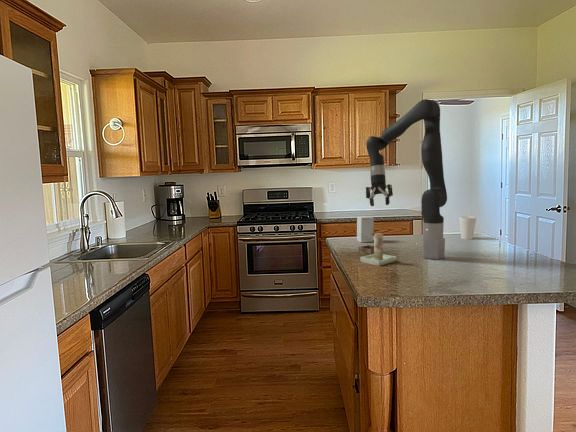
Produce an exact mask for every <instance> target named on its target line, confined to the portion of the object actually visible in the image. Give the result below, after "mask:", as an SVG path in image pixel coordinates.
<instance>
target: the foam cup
mask: <svg viewBox="0 0 576 432" xmlns="http://www.w3.org/2000/svg"><path fill="white" fill-rule="evenodd" d="M458 221H459V229H460V230H459V231H460V238H461V240H462V239H463V240H473V238H474V233H475V226H476V222H477V217H476V216H473V215H472V216H470V215H464V216H463V215H460V216H459V217H458Z"/></svg>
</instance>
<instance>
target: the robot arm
mask: <svg viewBox="0 0 576 432" xmlns="http://www.w3.org/2000/svg"><path fill="white" fill-rule="evenodd" d="M422 120H423V123H424V136H423V140H422V143H421V148H420V149H421V152H420V153H421V162H422V166H423V167H424V170H425V172H426V174H427V176H428V180H429V189H427V190H425V191H423V193H422V195H421V201H420V203H421V207H420V208H421V217H422V220H423V221H422V222H423V223H422V258H423V259H428V260H441V259H445V256H446V255H445V254H446V252H445V251H446V249H445V248H446V238H444V223H445V222H444V219H445V218H444V216H443V215H442V214H441V209H440V208H442V207H444V206H445V205H446V204H447V202H448V192H447V188H446V181H445V176H444V174H445V173H444V163H443V162H444V161H443V149H442V137H441V107H440V105H439V103H438V102H437V101H435V100H431V99H422V100H420V101H419V102H418V103H416V104H415V105H414V106H413V107H412V108H411V109H409V111H408V112H406V113H405V114H404V115H403V116H402V117H400V118H399V119H398V120H397V121H395V122H393V123H392V124H391V125H389V126H388V127H386V128H385V129H384V130H382V132H381V135H380V136H375V135H373V136H369V137H368V139H367V140H366V143H365V145H366V150H367V154H368V157H369V167H370V170H369V171H370V184H371V186H366V187H365V198H366V199H368V200H369V205H370V206H371V207H374V206H375V201H374V200H375V199H374V198H375V196H376V195H379V194H380V195H383V196H384V198H385V199H384V201H385V205H386V206H389V204H390V203H391V201H390V197H393V195H394V194H393V186H392V184H386V183H387V181H386V171H385V169H386V168H385V161H384V160H385V158H384V155H382V154H381V153H380V151H383V150H385V149H386V148H387V147H388V146H389V145H390V143H392V142H393V141H395V140H396V139H397V138H399V137H400V136H402V135H404V133H405V132H406V131H407V130H408V129H409V128H410V127H411V126H413V124H415V123H417V122H420V121H422Z"/></svg>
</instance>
